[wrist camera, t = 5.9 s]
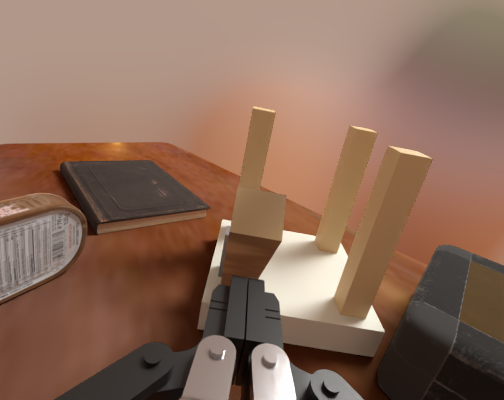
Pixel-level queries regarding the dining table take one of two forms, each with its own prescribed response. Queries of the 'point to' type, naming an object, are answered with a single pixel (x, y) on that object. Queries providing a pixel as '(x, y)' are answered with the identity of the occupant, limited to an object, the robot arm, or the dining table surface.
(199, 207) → the hardcover book
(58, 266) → the tin
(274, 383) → the robot arm
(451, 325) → the cash box
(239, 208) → the leg
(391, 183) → the stool
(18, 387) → the dining table surface
